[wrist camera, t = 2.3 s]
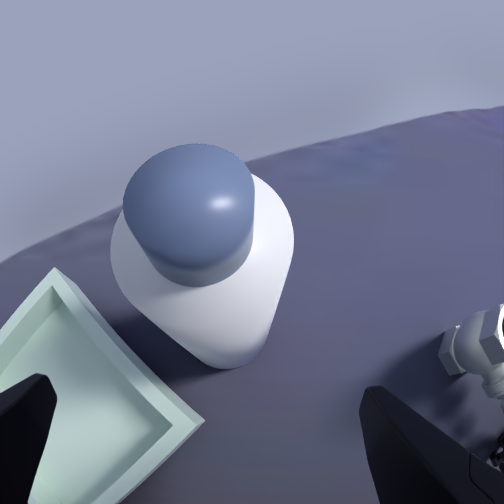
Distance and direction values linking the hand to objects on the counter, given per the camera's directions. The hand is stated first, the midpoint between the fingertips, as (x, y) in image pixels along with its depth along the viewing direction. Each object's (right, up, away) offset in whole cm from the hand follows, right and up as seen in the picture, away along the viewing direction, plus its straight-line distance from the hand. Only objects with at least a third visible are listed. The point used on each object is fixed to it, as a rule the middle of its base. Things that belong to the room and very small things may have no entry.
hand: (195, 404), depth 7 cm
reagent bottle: (0, -1, +12) cm, 12 cm away
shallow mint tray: (-10, -7, +9) cm, 15 cm away
